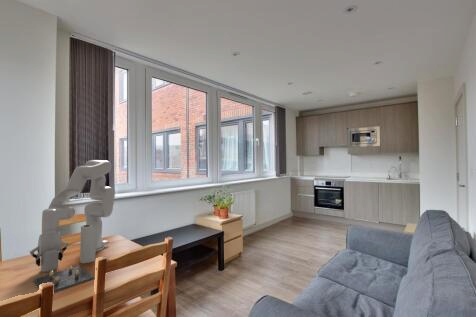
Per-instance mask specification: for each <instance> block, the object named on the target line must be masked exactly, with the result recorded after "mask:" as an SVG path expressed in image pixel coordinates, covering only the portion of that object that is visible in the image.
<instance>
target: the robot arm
mask: <svg viewBox="0 0 476 317" xmlns="http://www.w3.org/2000/svg"><path fill="white" fill-rule="evenodd" d="M111 170H112V163H111V162H110V161H109V160H104V159H103V160H101V159H100V160H99V159H90V160H87V161H86V162H85V164H84V165H78V166H76V167H75V169H74V170H73V172H72V175H71V176H70V178H69V181H68V182H67V185H66V186H65V188H63V189H62V190H61V191H60V192H58V193H57V194H56V195H55V196H54V197H53V199H52V200H51V201H50V204H49V206H48V208H46V209H43V210H42V212H41V214H42V215H41V234H39V237H38V240H37V241H38V243H37V246H36V247H35V248H33V249H32V250H29V254H30V256H31V257H33V258H34V259H35V265H36V266H38V267H41V255H42V254H44V253H45V252H47V250H51V249H55V248H56V250H58V261H60V262H61V261H62V260H63V257H64V256H63V255H64V252H65V251H66V250H67V248H68V246H69V243H68V242H64V241H63V240H62V235H61V232H60V231H61V230H63V228H62V227H60V221H66V220H71V219H72V218H73V217H74V216H75V215H76V209H75V207H73V206H70V205H69V206H68V205H63V204H64V203H65V202H66V201H67V200H68V199H70V198H72V197H74V196H76V195H79V194H80V193H82V192H83V190H84V187H85V185H86V182H87V181H88V180H91V182H90V188H89V199H90V200H94V201H91V202H89V203H86V205H85V206H84V208H83V211H84V218H85V225H93V226H96V253H97V252H100V251H102V250H104V248H105V245H109V244H110V241H109V240H103V239H102V238H103V236H102V234H103V221H102V218H108V217H110V216H111V215H112V214H113V209H114V205H115V204H114V203H115V194H116V192H115V189H114V188H113V187H111V186H106V176H105V175H107V174H109V172H111ZM95 201H96V202H95ZM97 201H101V202H97ZM62 246H63V247H62ZM35 252H37V253H36V254H35Z"/></svg>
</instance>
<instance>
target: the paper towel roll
mask: <svg viewBox="0 0 476 317" xmlns="http://www.w3.org/2000/svg"><path fill="white" fill-rule="evenodd" d="M79 249H80V250H79V253H80V255H79V263H80V264H88V263H92V262H95V261H96V255H97V254H96V253H97V252H96V226H93V225H86V224H85V225H80V248H79Z"/></svg>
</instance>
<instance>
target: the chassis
mask: <svg viewBox="0 0 476 317" xmlns="http://www.w3.org/2000/svg"><path fill="white" fill-rule="evenodd" d="M54 271H55V270H54ZM54 271H50V272H49V274H46V275H43V276H39V277H35V278H33V283H34V284H35V285H36V286H37V287H38V288H39V285H40V284H42V283H47V282H52V283H53V284H54V293H57V292H59V290H60V291H62V290H63V291H64V290H65V289H68V288H72V287H74V286H77V285H80V284H84V283H86V282H88V281H89V282H90V281H92V280H94V279H95V276H94V275H92V274H91V273H90V272H88V271H86V269H84V268H82V267H81V266H80V265H77V266H74V267H73V265H71V264H70V265H69V266H68V268H67V269H63V270H60V271H57V272H54ZM85 281H86V282H85Z"/></svg>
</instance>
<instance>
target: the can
mask: <svg viewBox="0 0 476 317" xmlns="http://www.w3.org/2000/svg"><path fill="white" fill-rule="evenodd" d="M58 253H59V251H58V250H56V248H55V249H51V250H47V252H45V253H44V254H42V255H41V257H40V270H41V271H42V273H50V271H55V270H56V269H58V267H59V259H58Z"/></svg>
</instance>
